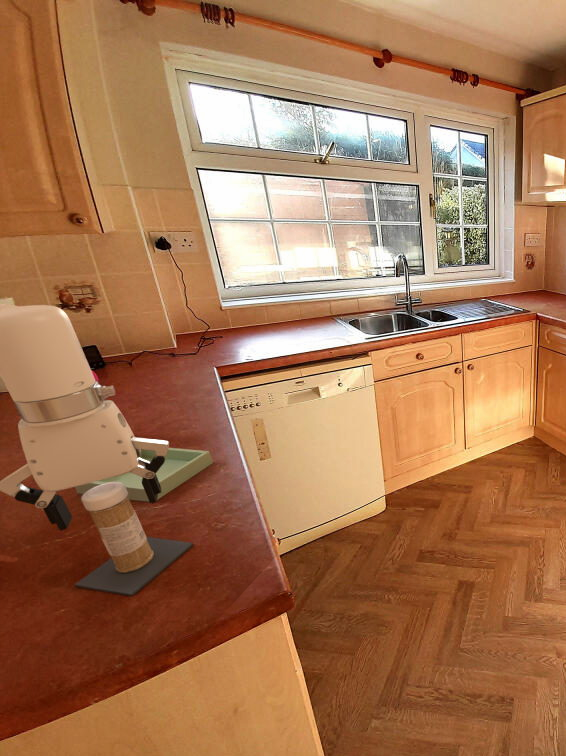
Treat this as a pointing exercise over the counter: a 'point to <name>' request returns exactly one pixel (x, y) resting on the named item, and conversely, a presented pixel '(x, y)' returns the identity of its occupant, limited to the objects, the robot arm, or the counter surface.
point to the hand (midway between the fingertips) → (112, 510)
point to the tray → (160, 472)
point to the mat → (135, 580)
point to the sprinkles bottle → (118, 526)
